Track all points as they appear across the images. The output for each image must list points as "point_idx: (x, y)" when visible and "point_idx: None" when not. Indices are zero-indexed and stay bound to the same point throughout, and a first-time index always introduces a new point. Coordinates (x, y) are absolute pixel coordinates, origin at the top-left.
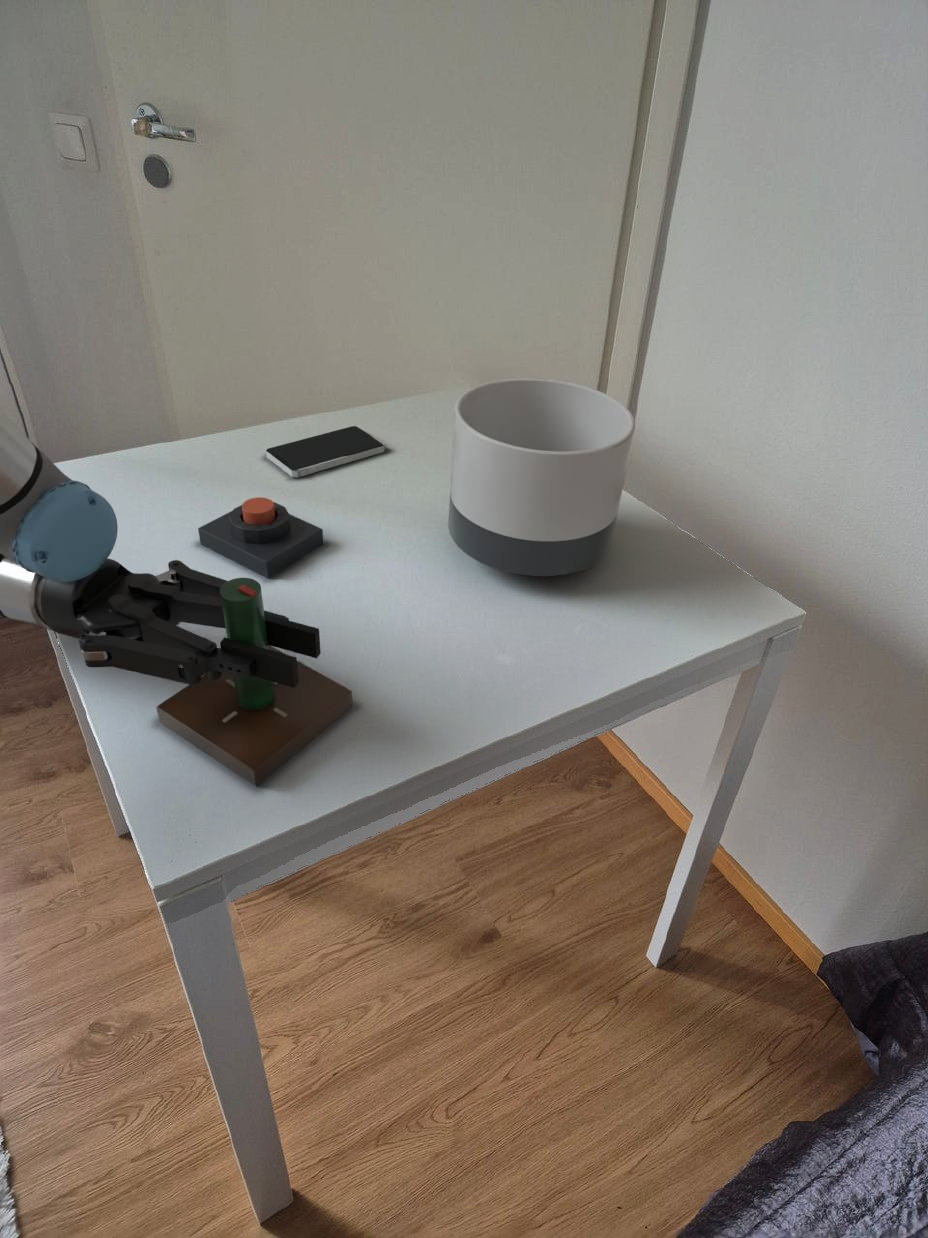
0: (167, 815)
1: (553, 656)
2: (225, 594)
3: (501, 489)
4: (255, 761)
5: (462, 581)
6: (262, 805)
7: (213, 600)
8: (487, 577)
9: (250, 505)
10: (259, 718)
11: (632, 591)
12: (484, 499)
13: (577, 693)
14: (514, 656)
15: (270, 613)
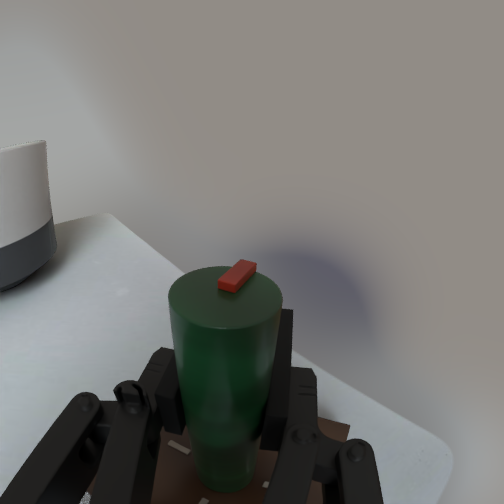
0: (414, 492)
1: (123, 271)
2: (262, 310)
3: (15, 192)
4: (337, 429)
5: (17, 310)
6: (359, 424)
7: (112, 477)
8: (20, 297)
9: None
10: (265, 453)
11: (69, 244)
12: (3, 214)
13: (163, 264)
14: (120, 287)
15: (145, 374)
